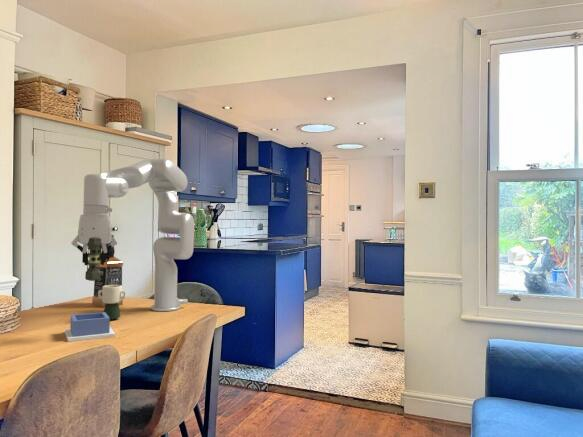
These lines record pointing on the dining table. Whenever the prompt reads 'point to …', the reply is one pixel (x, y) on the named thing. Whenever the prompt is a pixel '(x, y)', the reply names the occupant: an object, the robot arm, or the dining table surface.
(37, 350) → the dining table surface
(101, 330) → the socket block
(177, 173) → the robot arm
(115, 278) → the whiskey bottle
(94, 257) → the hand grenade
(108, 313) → the character mug
